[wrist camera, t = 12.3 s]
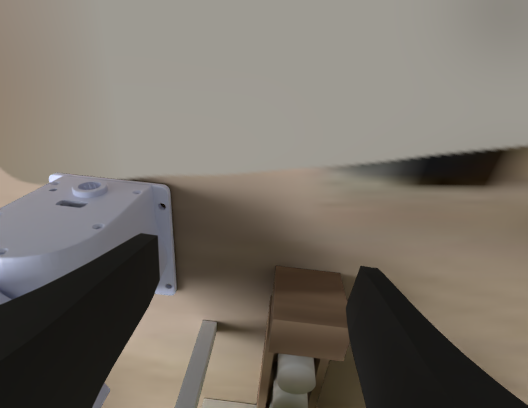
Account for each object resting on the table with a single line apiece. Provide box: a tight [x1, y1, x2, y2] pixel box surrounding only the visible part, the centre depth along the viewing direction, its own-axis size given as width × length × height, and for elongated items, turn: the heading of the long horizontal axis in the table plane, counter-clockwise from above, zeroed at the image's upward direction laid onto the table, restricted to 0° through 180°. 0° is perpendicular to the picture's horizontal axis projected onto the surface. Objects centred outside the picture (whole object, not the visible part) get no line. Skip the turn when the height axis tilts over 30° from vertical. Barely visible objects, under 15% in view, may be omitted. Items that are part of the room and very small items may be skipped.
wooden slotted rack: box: [256, 266, 350, 408], centre depth 23 cm, size 17×5×5 cm, turn 175°
